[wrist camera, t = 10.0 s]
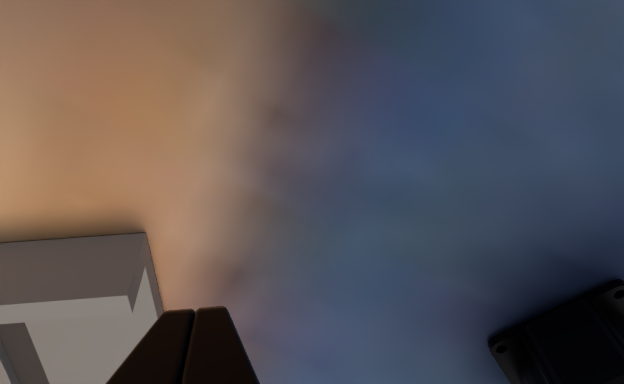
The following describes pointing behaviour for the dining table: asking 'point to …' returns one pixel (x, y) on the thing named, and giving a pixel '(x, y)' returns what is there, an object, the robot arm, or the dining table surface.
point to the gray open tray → (74, 307)
